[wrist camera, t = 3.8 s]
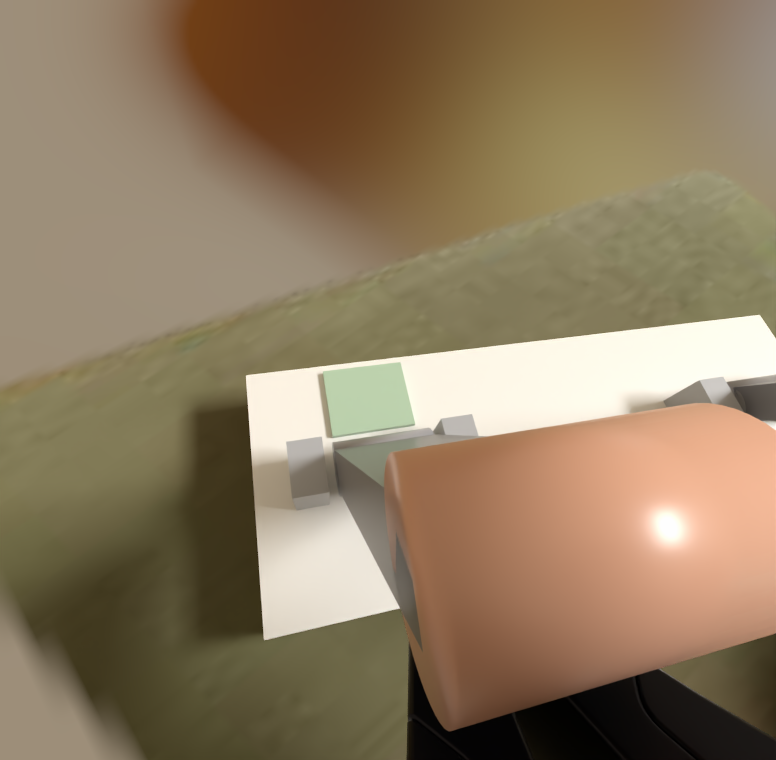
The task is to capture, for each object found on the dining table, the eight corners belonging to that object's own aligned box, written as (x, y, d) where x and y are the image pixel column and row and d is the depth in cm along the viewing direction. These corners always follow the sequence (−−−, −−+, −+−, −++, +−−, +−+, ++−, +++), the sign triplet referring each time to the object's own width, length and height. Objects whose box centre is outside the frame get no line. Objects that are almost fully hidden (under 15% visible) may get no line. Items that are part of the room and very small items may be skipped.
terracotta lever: (430, 482, 14) (881, 678, 3) (338, 499, 13) (479, 817, 2) (421, 421, 14) (814, 394, 3) (330, 435, 14) (426, 461, 3)
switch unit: (812, 507, 18) (942, 483, 14) (274, 632, 14) (253, 647, 10) (715, 344, 21) (799, 289, 18) (256, 404, 17) (236, 349, 13)
